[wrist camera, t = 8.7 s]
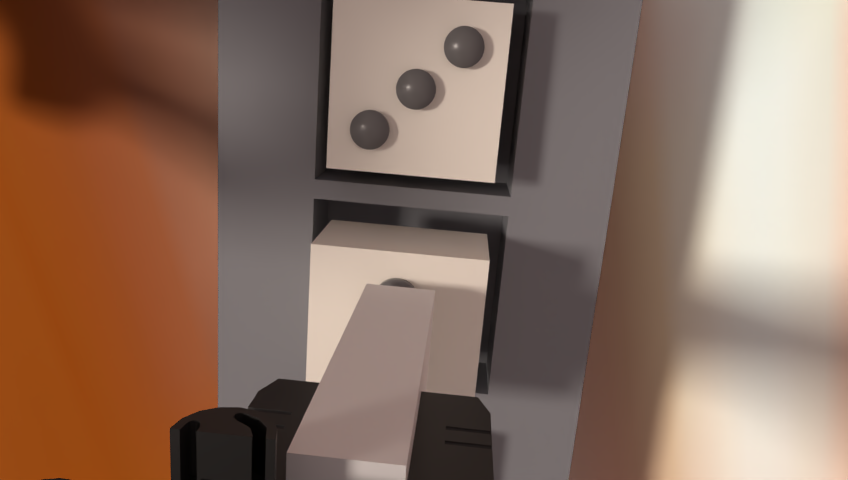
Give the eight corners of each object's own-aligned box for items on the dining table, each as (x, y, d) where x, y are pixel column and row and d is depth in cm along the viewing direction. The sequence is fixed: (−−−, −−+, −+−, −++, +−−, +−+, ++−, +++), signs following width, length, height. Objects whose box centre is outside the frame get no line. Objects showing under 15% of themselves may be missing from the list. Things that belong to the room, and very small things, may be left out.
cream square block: (325, 361, 18) (302, 409, 16) (331, 219, 17) (308, 246, 15) (471, 376, 18) (472, 426, 16) (486, 234, 17) (490, 263, 15)
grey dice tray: (249, 501, 23) (218, 563, 20) (256, -62, 19) (218, -84, 16) (539, 533, 23) (549, 601, 20) (621, -34, 18) (650, -53, 15)
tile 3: (344, 154, 18) (324, 169, 16) (351, -1, 17) (331, -11, 15) (491, 167, 18) (494, 184, 16) (507, 11, 17) (514, 2, 15)
